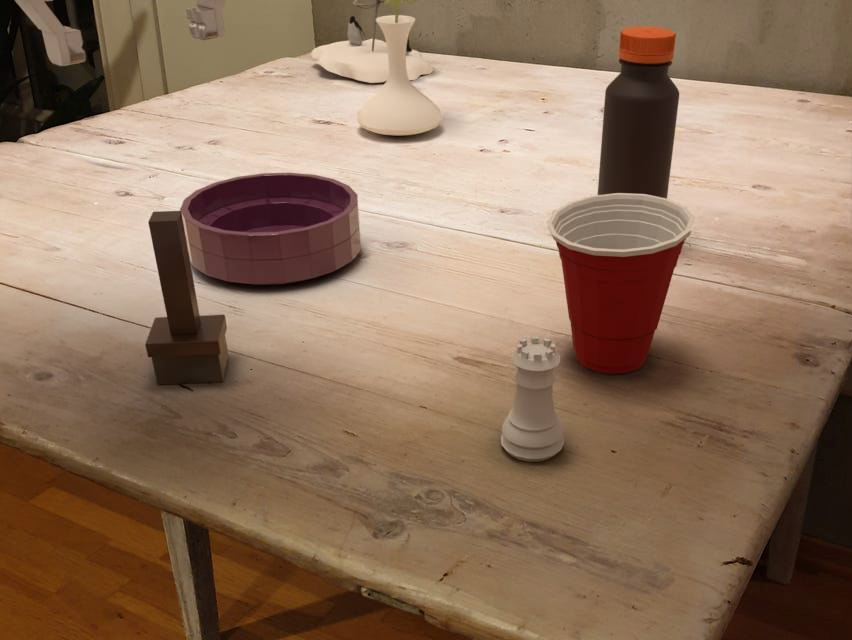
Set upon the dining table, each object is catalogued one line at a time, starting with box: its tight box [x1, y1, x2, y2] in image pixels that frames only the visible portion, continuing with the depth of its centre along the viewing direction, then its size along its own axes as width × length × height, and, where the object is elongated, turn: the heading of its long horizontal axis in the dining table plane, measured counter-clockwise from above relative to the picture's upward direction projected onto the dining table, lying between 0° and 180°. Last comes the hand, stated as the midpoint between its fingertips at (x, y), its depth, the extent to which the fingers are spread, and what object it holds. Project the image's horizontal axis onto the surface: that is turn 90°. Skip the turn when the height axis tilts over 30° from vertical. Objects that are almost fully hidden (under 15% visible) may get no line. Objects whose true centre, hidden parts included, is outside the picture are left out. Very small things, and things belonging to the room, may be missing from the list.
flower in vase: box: [355, 0, 444, 136], centre depth 122 cm, size 13×11×25 cm
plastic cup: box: [546, 193, 695, 375], centre depth 75 cm, size 11×11×12 cm
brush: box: [144, 210, 229, 386], centre depth 73 cm, size 5×4×13 cm
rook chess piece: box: [500, 336, 565, 463], centre depth 65 cm, size 4×4×8 cm
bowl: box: [179, 172, 362, 286], centre depth 93 cm, size 16×16×6 cm
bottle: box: [597, 26, 680, 199], centre depth 92 cm, size 7×7×20 cm
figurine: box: [309, 0, 434, 84], centre depth 151 cm, size 20×18×16 cm
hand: (141, 49), depth 59 cm, fingers open, 8 cm apart
